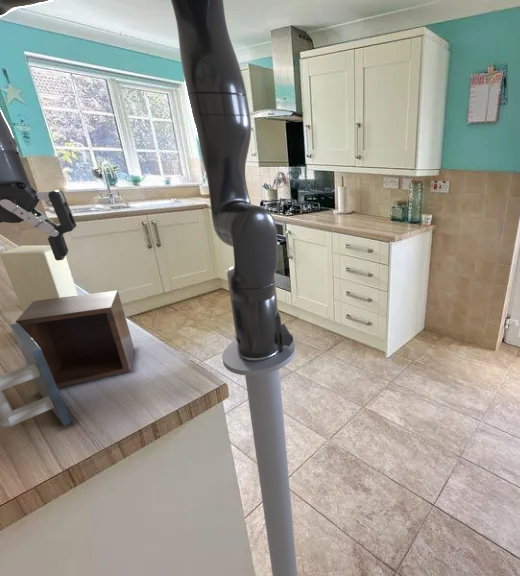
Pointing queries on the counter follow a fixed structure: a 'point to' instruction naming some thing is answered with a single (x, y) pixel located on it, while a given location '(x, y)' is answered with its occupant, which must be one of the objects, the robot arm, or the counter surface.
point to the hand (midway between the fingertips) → (23, 262)
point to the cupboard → (81, 336)
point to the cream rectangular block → (37, 274)
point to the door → (43, 379)
